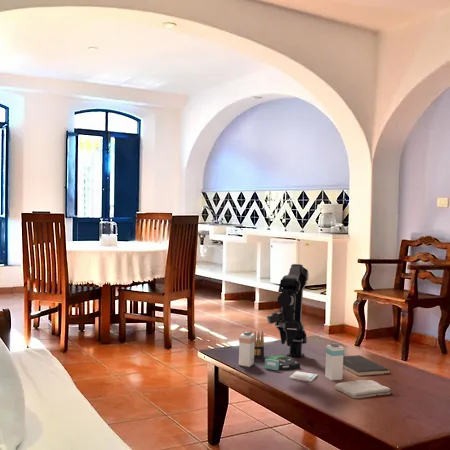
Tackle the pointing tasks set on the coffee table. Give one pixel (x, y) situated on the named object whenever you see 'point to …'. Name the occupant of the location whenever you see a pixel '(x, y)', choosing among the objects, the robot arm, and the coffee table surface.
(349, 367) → the hardcover book
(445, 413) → the coffee table surface
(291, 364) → the disk drive
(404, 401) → the coffee table surface
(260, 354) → the ammunition clip
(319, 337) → the coffee table surface
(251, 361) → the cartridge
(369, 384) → the washcloth
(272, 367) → the teal cartridge with label
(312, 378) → the mat
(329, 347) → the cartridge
